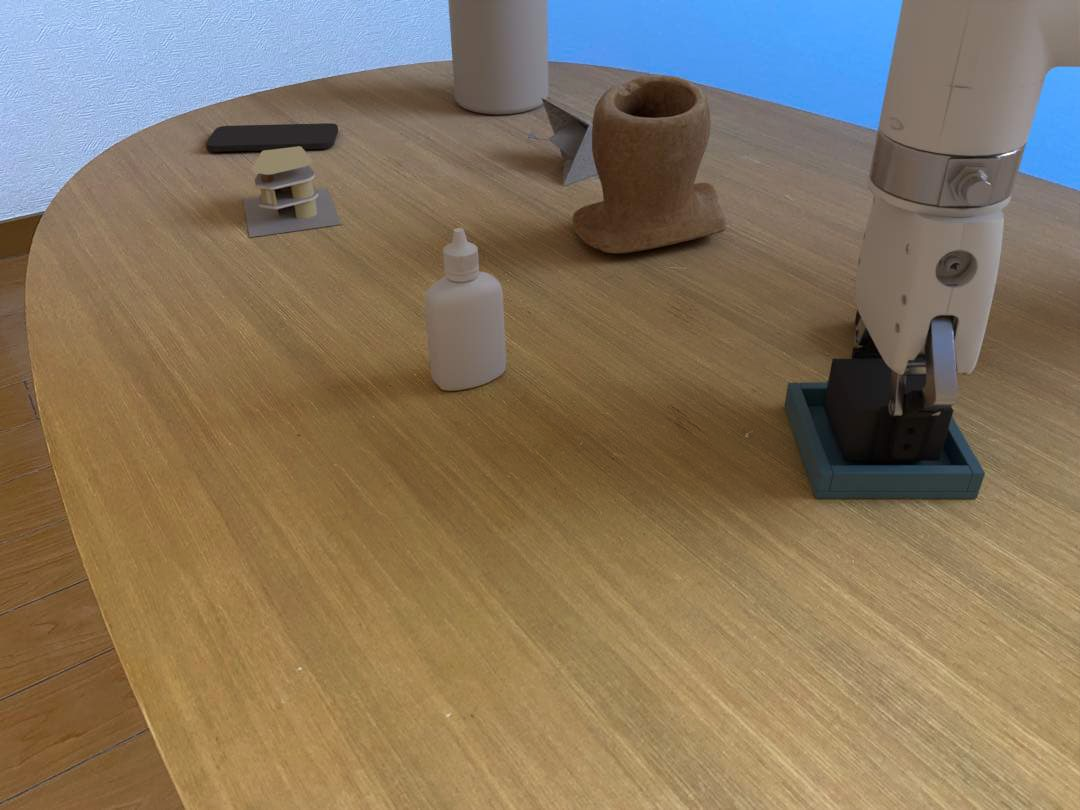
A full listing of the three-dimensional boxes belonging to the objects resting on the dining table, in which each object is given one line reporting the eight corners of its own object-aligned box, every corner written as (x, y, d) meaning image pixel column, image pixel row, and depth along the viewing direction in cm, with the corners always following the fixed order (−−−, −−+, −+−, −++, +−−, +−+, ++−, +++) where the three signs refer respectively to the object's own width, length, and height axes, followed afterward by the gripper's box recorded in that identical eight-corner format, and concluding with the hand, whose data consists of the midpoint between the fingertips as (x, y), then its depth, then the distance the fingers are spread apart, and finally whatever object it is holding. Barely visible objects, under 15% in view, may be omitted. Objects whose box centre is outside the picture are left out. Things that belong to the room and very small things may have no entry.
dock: (926, 406, 67) (932, 381, 66) (977, 499, 59) (985, 473, 58) (783, 406, 67) (787, 382, 66) (815, 499, 59) (820, 473, 58)
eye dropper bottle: (435, 361, 73) (421, 217, 66) (507, 360, 73) (501, 216, 66) (429, 393, 69) (414, 244, 62) (505, 392, 69) (498, 243, 62)
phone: (331, 143, 111) (203, 146, 110) (332, 150, 111) (204, 153, 111) (338, 122, 117) (217, 125, 116) (339, 129, 117) (218, 132, 117)
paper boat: (627, 171, 101) (552, 162, 97) (600, 207, 107) (527, 200, 102) (602, 85, 106) (529, 73, 102) (577, 123, 111) (506, 113, 107)
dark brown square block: (910, 406, 65) (923, 357, 62) (939, 461, 60) (953, 410, 57) (823, 407, 65) (832, 358, 63) (844, 461, 60) (855, 410, 58)
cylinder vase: (567, 99, 126) (567, -112, 112) (501, 123, 119) (492, -100, 104) (502, 82, 133) (494, -119, 119) (436, 103, 126) (419, -109, 111)
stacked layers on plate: (243, 199, 100) (232, 149, 96) (327, 188, 102) (320, 138, 99) (249, 237, 92) (238, 184, 89) (341, 224, 94) (333, 172, 91)
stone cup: (605, 278, 84) (610, 111, 75) (560, 226, 93) (559, 71, 84) (755, 252, 88) (776, 90, 79) (698, 204, 97) (711, 54, 88)
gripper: (1083, 231, 44) (986, 515, 55) (958, 113, 59) (900, 357, 69) (923, 233, 45) (857, 515, 55) (837, 115, 59) (797, 358, 69)
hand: (881, 425), depth 62 cm, fingers closed on dark brown square block, 6 cm apart
